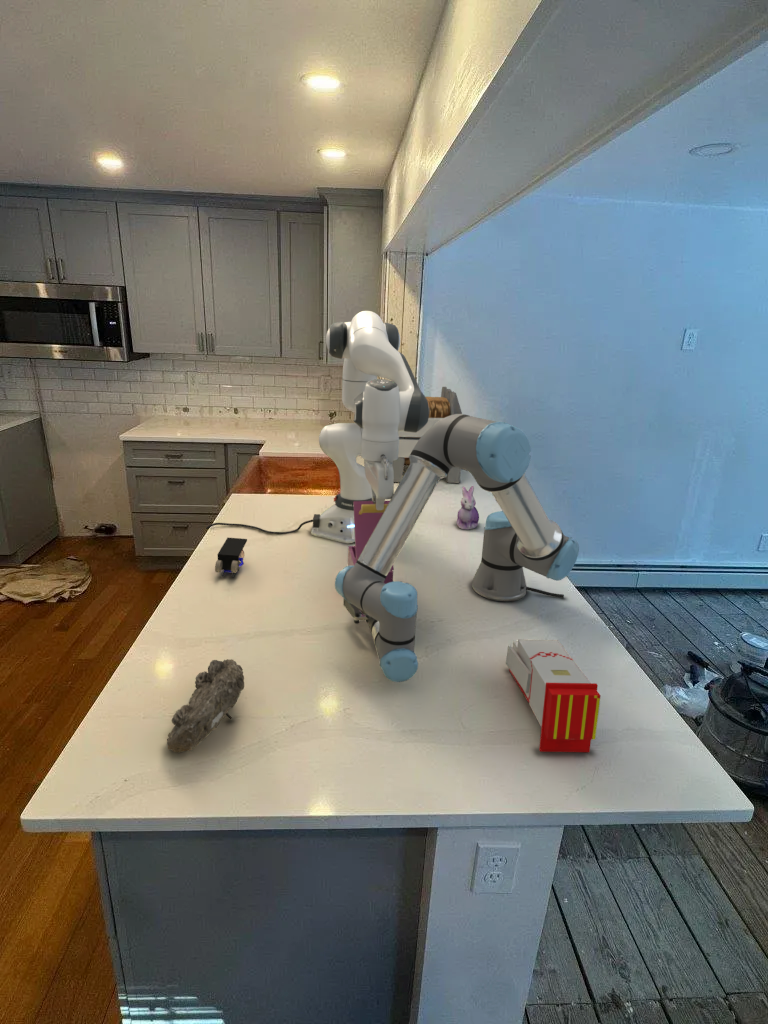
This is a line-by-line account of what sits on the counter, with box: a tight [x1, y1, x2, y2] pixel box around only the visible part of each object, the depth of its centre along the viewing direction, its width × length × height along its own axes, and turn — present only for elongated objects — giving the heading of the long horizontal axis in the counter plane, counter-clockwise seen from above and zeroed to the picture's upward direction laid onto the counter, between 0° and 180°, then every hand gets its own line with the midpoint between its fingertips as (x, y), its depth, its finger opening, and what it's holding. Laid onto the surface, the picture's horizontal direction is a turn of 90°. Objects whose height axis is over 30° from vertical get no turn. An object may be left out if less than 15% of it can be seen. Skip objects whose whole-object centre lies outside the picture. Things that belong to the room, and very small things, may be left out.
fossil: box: [166, 658, 245, 754], centre depth 106 cm, size 22×10×15 cm
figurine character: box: [214, 537, 248, 578], centre depth 166 cm, size 7×8×15 cm
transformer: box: [392, 386, 463, 484], centre depth 268 cm, size 34×33×41 cm
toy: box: [505, 638, 602, 753], centre depth 114 cm, size 12×13×30 cm
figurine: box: [456, 485, 480, 530], centre depth 208 cm, size 9×10×15 cm
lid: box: [353, 500, 395, 571], centre depth 142 cm, size 18×10×9 cm
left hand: (377, 506), depth 138 cm, fingers open, 3 cm apart
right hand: (371, 584), depth 150 cm, fingers closed on chest, 9 cm apart
